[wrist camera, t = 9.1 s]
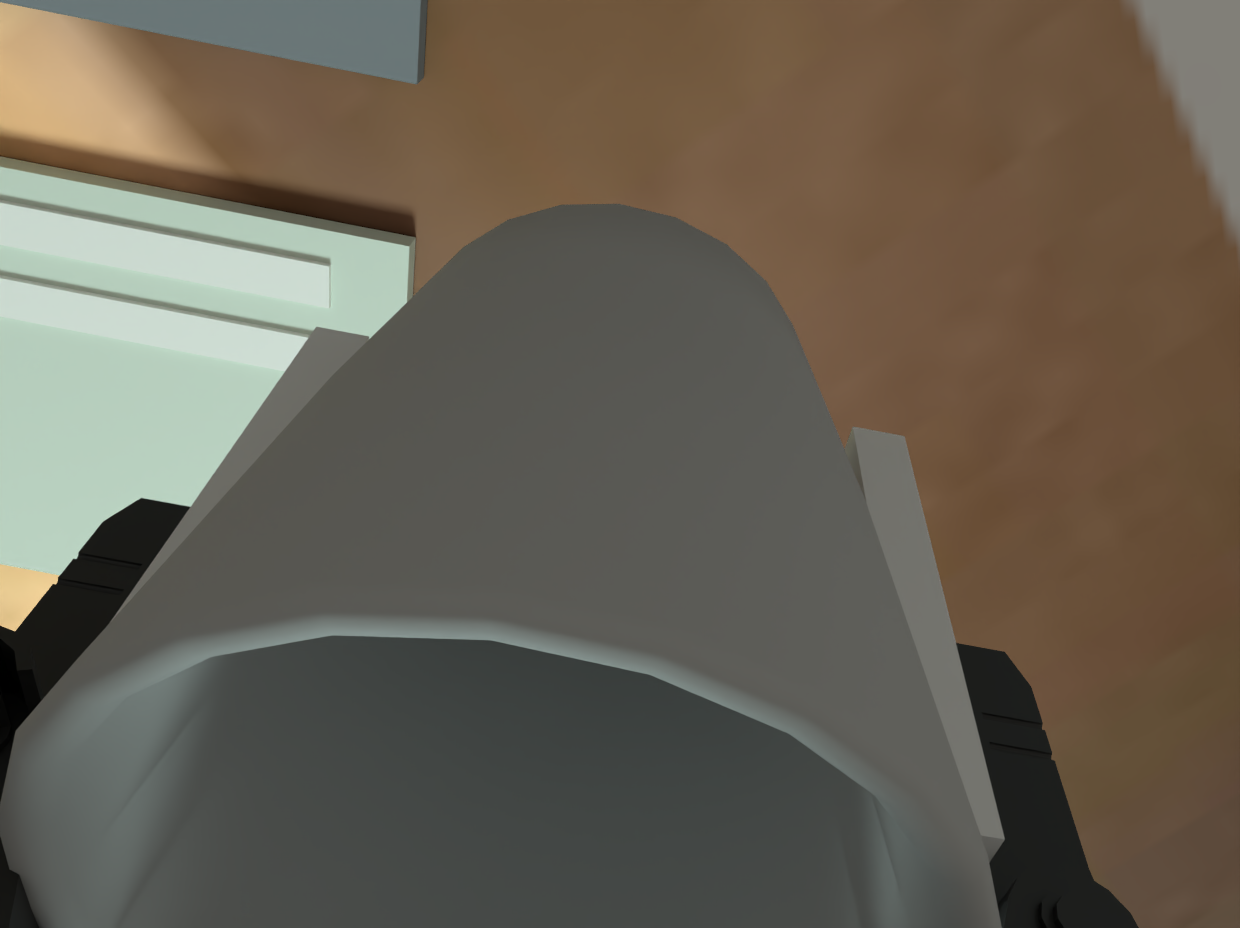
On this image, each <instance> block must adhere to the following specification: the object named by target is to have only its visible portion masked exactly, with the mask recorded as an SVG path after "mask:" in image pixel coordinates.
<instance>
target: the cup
mask: <svg viewBox="0 0 1240 928" xmlns="http://www.w3.org/2000/svg"><path fill="white" fill-rule="evenodd" d="M0 837H1V840H2V844H3V848H4V851H5V855H6V858H7V862H8V865H9V869H10V870H12V871H14V872H16V873H18V874H19V875H20V878H21V881H22V884H23V887H24V889H25V892H26V895H27V898H28V900H29V903H30V907H31V909H32V912H33V914H34V916H35V919H36V921H37V923H38V926H39V928H1002V926H1001V921H1000V916H999V911H998V905H997V900H996V895H995V890H994V885H993V880H992V875H991V870H990V864H989V859H988V855H987V852H986V849H985V846H984V843H983V840H982V837H981V835H980V832H979V829H978V826H977V823H976V820H975V817H974V814H973V811H972V808H971V806H970V803H969V800H968V797H967V794H966V791H965V788H964V785H963V782H962V779H961V777H960V774H959V771H958V768H957V765H956V762H955V759H954V756H953V753H952V750H951V747H950V745H949V742H948V739H947V736H946V733H945V730H944V727H943V724H942V721H941V718H940V716H939V713H938V710H937V707H936V704H935V701H934V698H933V695H932V692H931V689H930V687H929V684H928V681H927V678H926V675H925V672H924V669H923V666H922V663H921V660H920V658H919V655H918V652H917V649H916V646H915V643H914V640H913V637H912V634H911V631H910V628H909V626H908V623H907V620H906V617H905V614H904V611H903V608H902V605H901V602H900V599H899V597H898V594H897V591H896V588H895V585H894V582H893V579H892V576H891V573H890V570H889V568H888V565H887V562H886V559H885V556H884V553H883V550H882V547H881V544H880V541H879V538H878V536H877V533H876V530H875V527H874V524H873V521H872V518H871V515H870V512H869V509H868V507H867V504H866V501H865V498H864V495H863V493H862V491H861V488H860V486H859V483H858V481H857V479H856V476H855V474H854V471H853V469H852V466H851V464H850V462H849V459H848V457H847V454H846V452H845V450H844V447H843V445H842V442H841V440H840V438H839V435H838V433H837V430H836V428H835V426H834V423H833V421H832V418H831V416H830V414H829V411H828V409H827V406H826V404H825V401H824V399H823V397H822V394H821V392H820V389H819V387H818V385H817V382H816V380H815V377H814V375H813V373H812V370H811V368H810V365H809V363H808V361H807V358H806V356H805V353H804V351H803V349H802V346H801V344H800V341H799V339H798V337H797V334H796V332H795V329H794V327H793V325H792V323H791V321H790V320H789V318H788V316H787V315H786V313H785V311H784V310H783V308H782V306H781V305H780V303H779V302H778V300H777V298H776V297H775V295H774V293H773V292H772V290H771V288H770V287H769V285H768V283H767V282H766V281H765V280H764V279H763V278H762V277H761V276H760V275H759V274H758V273H757V272H756V271H755V270H753V269H752V268H751V267H750V266H749V265H748V264H747V263H746V262H745V261H744V260H743V259H742V258H741V257H740V256H738V255H737V254H736V253H735V252H734V251H733V250H732V249H731V248H730V247H729V246H728V245H727V244H725V243H723V242H721V241H719V240H717V239H715V238H713V237H712V236H710V235H708V234H706V233H704V232H702V231H700V230H698V229H697V228H695V227H693V226H691V225H689V224H687V223H685V222H683V221H681V220H680V219H678V218H676V217H671V216H667V215H663V214H659V213H655V212H651V211H646V210H642V209H638V208H634V207H630V206H626V205H621V204H584V205H559V206H555V207H552V208H548V209H545V210H541V211H538V212H534V213H531V214H527V215H524V216H520V217H517V218H513V219H509V220H507V221H505V222H504V223H502V224H500V225H499V226H497V227H496V228H494V229H492V230H491V231H489V232H487V233H486V234H484V235H483V236H481V237H479V238H478V239H476V240H474V241H473V242H471V243H470V244H468V245H466V246H465V247H463V248H462V249H461V250H460V251H459V252H458V253H457V254H456V255H455V256H454V257H453V258H452V259H451V260H450V261H449V262H448V263H447V264H446V265H445V266H444V267H443V268H442V269H441V270H440V271H439V272H438V273H437V274H436V275H435V276H433V277H432V278H431V279H430V280H429V281H428V282H427V283H426V284H425V285H424V286H423V287H422V288H421V289H420V290H419V291H418V292H417V293H416V294H415V295H414V296H413V297H412V298H411V299H410V300H409V301H408V302H407V303H406V304H405V305H404V306H403V307H402V308H401V309H400V310H399V311H398V312H397V313H396V314H395V315H394V316H393V317H392V318H391V319H390V320H388V321H387V322H386V323H385V324H384V325H383V326H382V327H381V328H380V329H379V330H378V331H377V332H376V333H375V334H374V335H373V336H372V337H371V338H370V339H369V340H368V341H367V342H366V343H365V344H364V345H363V346H362V347H361V348H360V349H359V350H358V351H357V352H356V353H355V354H354V355H353V356H352V357H351V358H350V359H349V360H348V361H347V362H346V363H345V364H344V365H342V366H341V367H340V368H339V369H338V370H337V371H336V372H335V373H334V374H333V375H332V376H331V377H330V379H329V380H328V381H327V382H326V383H325V384H324V385H323V386H322V387H321V389H320V390H319V391H318V392H317V393H316V394H315V395H314V396H313V397H312V399H311V400H310V401H309V402H308V403H307V404H306V405H305V406H304V407H303V409H302V410H301V411H300V412H299V413H298V414H297V415H296V416H295V417H294V419H293V420H292V421H291V422H290V423H289V424H288V425H287V426H286V427H285V429H284V430H283V431H282V432H281V433H280V434H279V435H278V436H277V437H276V439H275V440H274V441H273V442H272V443H271V444H270V445H269V446H268V448H267V449H266V450H265V451H264V452H263V453H262V454H261V455H260V456H259V458H258V459H257V460H256V461H255V462H254V463H253V464H252V465H251V466H250V468H249V469H248V470H247V471H246V472H245V473H244V474H243V475H242V476H241V478H240V479H239V480H238V481H237V482H236V483H235V484H234V485H233V486H232V488H231V489H230V490H229V491H228V492H227V493H226V494H225V495H224V496H223V498H222V499H221V500H220V501H219V502H218V503H217V504H216V505H215V506H214V508H213V509H212V510H211V511H210V512H209V513H208V514H207V515H206V516H205V518H204V519H203V520H202V521H201V522H200V523H199V524H198V525H197V527H196V528H195V529H194V530H193V531H192V532H191V533H190V534H189V535H188V537H187V538H186V539H185V540H184V541H183V542H182V543H181V544H180V545H179V547H178V548H177V549H176V550H175V551H174V552H173V553H172V554H171V555H170V557H169V558H168V559H167V560H166V561H165V562H164V563H163V564H162V565H161V567H160V568H159V569H158V570H157V571H156V572H155V573H154V574H153V575H152V577H151V578H150V579H149V580H148V581H147V582H146V583H145V584H144V585H143V587H142V588H141V589H140V590H139V591H138V592H137V593H136V594H135V595H134V597H133V598H132V599H131V600H130V601H129V602H128V603H127V604H126V606H125V607H124V608H123V609H122V610H121V611H120V612H119V613H118V614H117V616H116V617H115V618H114V619H113V620H112V621H111V622H110V623H109V624H108V626H107V627H106V628H105V629H104V630H103V631H102V632H101V633H100V634H99V636H98V637H97V638H96V639H95V640H94V641H93V642H92V643H91V644H90V646H89V647H88V648H87V649H86V650H85V651H84V652H83V653H82V654H81V656H80V657H79V658H78V659H77V660H76V661H75V662H74V663H73V665H72V666H71V667H70V668H69V669H68V670H67V672H66V673H65V674H64V675H63V676H62V677H61V679H60V680H59V681H58V682H57V683H56V684H55V686H54V687H53V688H52V689H51V690H50V691H49V693H48V694H47V695H46V696H45V697H44V698H43V700H42V701H41V702H40V703H39V704H38V705H37V707H36V708H35V709H34V710H33V711H32V712H31V714H30V715H29V716H28V717H27V718H26V720H25V721H24V722H23V723H22V724H21V725H20V727H19V728H18V729H17V730H16V732H15V736H14V741H13V746H12V751H11V755H10V760H9V765H8V769H7V774H6V779H5V784H4V788H3V793H2V798H1V802H0Z"/></svg>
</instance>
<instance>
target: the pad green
mask: <svg viewBox="0 0 1240 928" xmlns="http://www.w3.org/2000/svg"><path fill="white" fill-rule="evenodd" d="M415 242H416V237H411V236H406V235H401V234H396V233H391V232H386V231H381V230H376V229H370V228H365V227H360V226H355V225H350V224H345V223H340V222H334V221H329V220H324V219H319V218H314V217H309V216H304V215H299V214H293V213H288V212H283V211H278V210H273V209H268V208H263V207H258V206H252V205H247V204H242V203H237V202H232V201H227V200H222V199H217V198H211V197H206V196H201V195H196V194H191V193H186V192H181V191H176V190H170V189H165V188H160V187H155V186H150V185H145V184H140V183H134V182H129V181H124V180H119V179H114V178H109V177H104V176H99V175H93V174H88V173H83V172H78V171H73V170H68V169H63V168H58V167H52V166H47V165H42V164H37V163H32V162H27V161H22V160H17V159H11V158H6V157H1V156H0V564H3V565H8V566H13V567H19V568H24V569H29V570H35V571H40V572H45V573H50V574H56V575H61V574H62V572H63V571H64V570H65V568H66V567H67V566H68V565H69V563H70V562H71V561H72V560H73V559H77V557H78V552H79V551H80V550H81V548H82V547H83V546H84V545H85V543H86V542H87V541H88V540H89V538H90V537H91V536H92V535H93V533H94V532H95V531H96V530H97V528H98V527H99V526H100V524H101V523H102V522H103V521H105V520H106V519H108V518H109V517H111V516H113V515H114V514H116V513H118V512H119V511H121V510H122V509H124V508H126V507H127V506H129V505H130V504H132V503H134V502H135V501H137V500H138V499H140V498H145V499H150V500H156V501H161V502H167V503H173V504H178V505H184V506H189V507H191V506H192V504H193V503H194V501H195V500H196V498H197V497H198V496H199V494H200V493H201V491H202V490H203V488H204V487H205V485H206V484H207V483H208V481H209V480H210V478H211V477H212V475H213V474H214V473H215V471H216V470H217V468H218V467H219V465H220V464H221V463H222V461H223V460H224V458H225V457H226V455H227V454H228V452H229V451H230V450H231V448H232V447H233V445H234V444H235V442H236V441H237V440H238V438H239V437H240V435H241V434H242V432H243V431H244V430H245V428H246V427H247V425H248V424H249V422H250V421H251V420H252V418H253V417H254V415H255V414H256V412H257V411H258V409H259V408H260V407H261V405H262V404H263V402H264V401H265V399H266V398H267V397H268V395H269V394H270V392H271V391H272V389H273V388H274V387H275V385H276V384H277V382H278V381H279V379H280V378H281V376H282V375H283V374H284V372H285V371H286V369H287V368H288V366H289V365H290V364H291V362H292V361H293V359H294V358H295V356H296V355H297V354H298V352H299V351H300V349H301V348H302V346H303V345H304V343H305V342H306V341H307V339H308V338H309V336H310V335H311V333H312V332H313V331H314V329H315V328H316V327H321V328H327V329H332V330H337V331H343V332H348V333H353V334H359V335H364V336H369V339H370V338H371V337H372V336H373V335H374V334H375V333H376V332H377V331H378V330H379V329H380V328H381V327H382V326H383V325H384V324H385V323H386V322H387V321H388V320H390V319H391V318H392V317H393V316H394V315H395V314H396V313H397V312H398V311H399V310H400V309H401V308H402V307H403V306H404V305H405V304H406V303H407V302H408V301H409V300H410V299H411V298H412V297H413V282H414V262H415Z"/></svg>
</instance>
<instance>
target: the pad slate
mask: <svg viewBox="0 0 1240 928" xmlns="http://www.w3.org/2000/svg"><path fill="white" fill-rule="evenodd" d="M0 2H2V3H7V4H13V5H18V6H23V7H28V8H33V9H38V10H43V11H48V12H53V13H58V14H63V15H68V16H73V17H78V18H84V19H89V20H94V21H99V22H104V23H109V24H114V25H119V26H124V27H129V28H134V29H139V30H144V31H149V32H154V33H160V34H165V35H170V36H175V37H180V38H185V39H190V40H195V41H200V42H205V43H210V44H215V45H220V46H225V47H230V48H236V49H241V50H246V51H251V52H256V53H261V54H266V55H271V56H276V57H281V58H286V59H291V60H296V61H301V62H307V63H312V64H317V65H322V66H327V67H332V68H337V69H342V70H347V71H352V72H357V73H362V74H367V75H372V76H377V77H383V78H388V79H393V80H398V81H403V82H408V83H413V84H418V83H419V82H420V81H421V80H422V79H423V78H424V60H425V40H426V20H427V0H0Z"/></svg>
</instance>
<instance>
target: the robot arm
mask: <svg viewBox="0 0 1240 928" xmlns="http://www.w3.org/2000/svg"><path fill="white" fill-rule="evenodd" d="M368 340H369V336H364V335H359V334H353V333H348V332H343V331H337V330H332V329H327V328H321V327H316V328H315V329H314V331H313V332H312V333H311V335H310V336H309V338H308V339H307V341H306V342H305V343H304V345H303V346H302V348H301V349H300V351H299V352H298V354H297V355H296V356H295V358H294V359H293V361H292V362H291V364H290V365H289V366H288V368H287V369H286V371H285V372H284V374H283V375H282V376H281V378H280V379H279V381H278V382H277V384H276V385H275V387H274V388H273V389H272V391H271V392H270V394H269V395H268V397H267V398H266V399H265V401H264V402H263V404H262V405H261V407H260V408H259V409H258V411H257V412H256V414H255V415H254V417H253V418H252V420H251V421H250V422H249V424H248V425H247V427H246V428H245V430H244V431H243V432H242V434H241V435H240V437H239V438H238V440H237V441H236V442H235V444H234V445H233V447H232V448H231V450H230V451H229V452H228V454H227V455H226V457H225V458H224V460H223V461H222V463H221V464H220V465H219V467H218V468H217V470H216V471H215V473H214V474H213V475H212V477H211V478H210V480H209V481H208V483H207V484H206V485H205V487H204V488H203V490H202V491H201V493H200V494H199V496H198V497H197V498H196V500H195V501H194V503H193V504H192V506H191V507H189V506H184V505H178V504H173V503H167V502H161V501H156V500H150V499H145V498H140V499H138V500H137V501H135V502H134V503H132V504H130V505H129V506H127V507H126V508H124V509H122V510H121V511H119V512H118V513H116V514H114V515H113V516H111V517H109V518H108V519H106V520H105V521H103V522H102V523H101V524H100V526H99V527H98V528H97V530H96V531H95V532H94V533H93V535H92V536H91V537H90V538H89V540H88V541H87V542H86V543H85V545H84V546H83V547H82V548H81V550H80V551H79V552H78V557H77V559H73V560H72V561H71V562H70V563H69V565H68V566H67V567H66V568H65V570H64V571H63V572H62V574H61V575H60V576H59V577H58V582H57V584H56V585H55V584H53V585H52V586H51V587H50V589H49V590H48V591H47V592H46V594H45V595H44V596H43V597H42V599H41V600H40V601H39V602H38V604H37V605H36V606H35V607H34V609H33V610H32V611H31V612H30V614H29V615H28V616H27V617H26V619H25V620H24V621H23V623H22V624H21V625H20V626H19V628H18V629H17V630H16V631H15V632H14V631H12V630H9V629H7V628H4V627H2V626H0V802H1V798H2V793H3V788H4V784H5V779H6V774H7V769H8V765H9V760H10V755H11V751H12V746H13V741H14V736H15V732H16V730H17V729H18V728H19V727H20V725H21V724H22V723H23V722H24V721H25V720H26V718H27V717H28V716H29V715H30V714H31V712H32V711H33V710H34V709H35V708H36V707H37V705H38V704H39V703H40V702H41V701H42V700H43V698H44V697H45V696H46V695H47V694H48V693H49V691H50V690H51V689H52V688H53V687H54V686H55V684H56V683H57V682H58V681H59V680H60V679H61V677H62V676H63V675H64V674H65V673H66V672H67V670H68V669H69V668H70V667H71V666H72V665H73V663H74V662H75V661H76V660H77V659H78V658H79V657H80V656H81V654H82V653H83V652H84V651H85V650H86V649H87V648H88V647H89V646H90V644H91V643H92V642H93V641H94V640H95V639H96V638H97V637H98V636H99V634H100V633H101V632H102V631H103V630H104V629H105V628H106V627H107V626H108V624H109V623H110V622H111V621H112V620H113V619H114V618H115V617H116V616H117V614H118V613H119V612H120V611H121V610H122V609H123V608H124V607H125V606H126V604H127V603H128V602H129V601H130V600H131V599H132V598H133V597H134V595H135V594H136V593H137V592H138V591H139V590H140V589H141V588H142V587H143V585H144V584H145V583H146V582H147V581H148V580H149V579H150V578H151V577H152V575H153V574H154V573H155V572H156V571H157V570H158V569H159V568H160V567H161V565H162V564H163V563H164V562H165V561H166V560H167V559H168V558H169V557H170V555H171V554H172V553H173V552H174V551H175V550H176V549H177V548H178V547H179V545H180V544H181V543H182V542H183V541H184V540H185V539H186V538H187V537H188V535H189V534H190V533H191V532H192V531H193V530H194V529H195V528H196V527H197V525H198V524H199V523H200V522H201V521H202V520H203V519H204V518H205V516H206V515H207V514H208V513H209V512H210V511H211V510H212V509H213V508H214V506H215V505H216V504H217V503H218V502H219V501H220V500H221V499H222V498H223V496H224V495H225V494H226V493H227V492H228V491H229V490H230V489H231V488H232V486H233V485H234V484H235V483H236V482H237V481H238V480H239V479H240V478H241V476H242V475H243V474H244V473H245V472H246V471H247V470H248V469H249V468H250V466H251V465H252V464H253V463H254V462H255V461H256V460H257V459H258V458H259V456H260V455H261V454H262V453H263V452H264V451H265V450H266V449H267V448H268V446H269V445H270V444H271V443H272V442H273V441H274V440H275V439H276V437H277V436H278V435H279V434H280V433H281V432H282V431H283V430H284V429H285V427H286V426H287V425H288V424H289V423H290V422H291V421H292V420H293V419H294V417H295V416H296V415H297V414H298V413H299V412H300V411H301V410H302V409H303V407H304V406H305V405H306V404H307V403H308V402H309V401H310V400H311V399H312V397H313V396H314V395H315V394H316V393H317V392H318V391H319V390H320V389H321V387H322V386H323V385H324V384H325V383H326V382H327V381H328V380H329V379H330V377H331V376H332V375H333V374H334V373H335V372H336V371H337V370H338V369H339V368H340V367H341V366H342V365H344V364H345V363H346V362H347V361H348V360H349V359H350V358H351V357H352V356H353V355H354V354H355V353H356V352H357V351H358V350H359V349H360V348H361V347H362V346H363V345H364V344H365V343H366V342H367V341H368ZM844 450H845V452H846V454H847V457H848V459H849V462H850V464H851V466H852V469H853V471H854V474H855V476H856V479H857V481H858V483H859V486H860V488H861V491H862V493H863V495H864V498H865V501H866V504H867V507H868V509H869V512H870V515H871V518H872V521H873V524H874V527H875V530H876V533H877V536H878V538H879V541H880V544H881V547H882V550H883V553H884V556H885V559H886V562H887V565H888V568H889V570H890V573H891V576H892V579H893V582H894V585H895V588H896V591H897V594H898V597H899V599H900V602H901V605H902V608H903V611H904V614H905V617H906V620H907V623H908V626H909V628H910V631H911V634H912V637H913V640H914V643H915V646H916V649H917V652H918V655H919V658H920V660H921V663H922V666H923V669H924V672H925V675H926V678H927V681H928V684H929V687H930V689H931V692H932V695H933V698H934V701H935V704H936V707H937V710H938V713H939V716H940V718H941V721H942V724H943V727H944V730H945V733H946V736H947V739H948V742H949V745H950V747H951V750H952V753H953V756H954V759H955V762H956V765H957V768H958V771H959V774H960V777H961V779H962V782H963V785H964V788H965V791H966V794H967V797H968V800H969V803H970V806H971V808H972V811H973V814H974V817H975V820H976V823H977V826H978V829H979V832H980V835H981V837H982V840H983V843H984V846H985V849H986V852H987V855H988V859H989V864H990V870H991V875H992V880H993V885H994V890H995V895H996V900H997V905H998V911H999V916H1000V921H1001V926H1002V928H1138V926H1137V924H1136V922H1135V920H1134V919H1133V917H1132V915H1131V913H1130V912H1129V911H1128V910H1127V909H1126V908H1125V907H1124V906H1123V905H1122V904H1121V903H1120V902H1119V901H1118V900H1117V899H1116V897H1115V896H1114V895H1113V894H1112V893H1111V892H1110V891H1109V890H1107V889H1106V888H1104V887H1103V886H1101V885H1100V884H1098V883H1096V882H1095V881H1094V879H1093V877H1092V875H1091V873H1090V870H1089V868H1088V864H1087V861H1086V858H1085V855H1084V852H1083V849H1082V846H1081V842H1080V839H1079V836H1078V833H1077V830H1076V827H1075V824H1074V820H1073V817H1072V814H1071V811H1070V808H1069V805H1068V801H1067V798H1066V795H1065V792H1064V789H1063V786H1062V783H1061V779H1060V776H1059V773H1058V770H1057V767H1056V764H1055V761H1054V760H1051V755H1052V751H1051V748H1050V745H1049V742H1048V738H1047V735H1046V732H1045V730H1042V724H1043V723H1042V720H1041V716H1040V713H1039V710H1038V707H1037V704H1036V701H1035V697H1034V694H1033V691H1032V688H1031V686H1030V685H1029V683H1028V682H1027V681H1026V679H1025V678H1024V677H1023V675H1022V674H1021V673H1020V671H1019V670H1018V669H1017V668H1016V666H1015V665H1014V664H1013V662H1012V661H1011V660H1010V658H1009V657H1008V656H1007V654H1006V653H1005V652H1002V651H997V650H991V649H986V648H980V647H975V646H969V645H964V644H958V643H956V642H955V638H954V633H953V629H952V625H951V621H950V617H949V613H948V609H947V605H946V601H945V597H944V593H943V589H942V585H941V581H940V577H939V573H938V569H937V565H936V561H935V557H934V553H933V549H932V545H931V541H930V537H929V533H928V529H927V525H926V521H925V517H924V513H923V509H922V505H921V501H920V497H919V493H918V489H917V485H916V481H915V477H914V473H913V469H912V465H911V461H910V457H909V453H908V449H907V445H906V441H905V437H904V436H900V435H895V434H889V433H884V432H879V431H873V430H868V429H863V428H857V427H853V428H852V430H851V433H850V436H849V439H848V441H847V444H846V447H845V449H844ZM0 928H39V926H38V923H37V921H36V919H35V916H34V914H33V912H32V909H31V907H30V903H29V900H28V898H27V895H26V892H25V889H24V887H23V884H22V881H21V878H20V875H19V874H18V873H16V872H14V871H12V870H10V869H9V865H8V862H7V858H6V855H5V851H4V848H3V844H2V840H1V837H0Z"/></svg>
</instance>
